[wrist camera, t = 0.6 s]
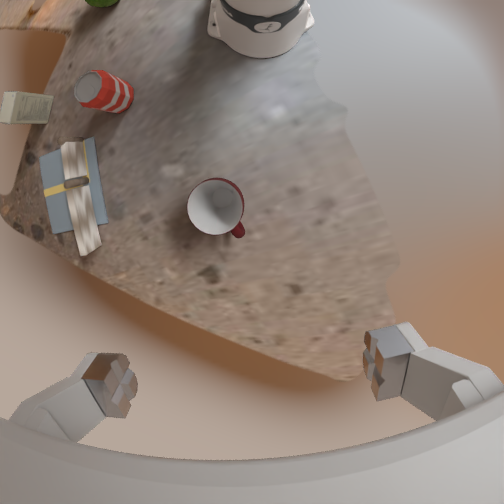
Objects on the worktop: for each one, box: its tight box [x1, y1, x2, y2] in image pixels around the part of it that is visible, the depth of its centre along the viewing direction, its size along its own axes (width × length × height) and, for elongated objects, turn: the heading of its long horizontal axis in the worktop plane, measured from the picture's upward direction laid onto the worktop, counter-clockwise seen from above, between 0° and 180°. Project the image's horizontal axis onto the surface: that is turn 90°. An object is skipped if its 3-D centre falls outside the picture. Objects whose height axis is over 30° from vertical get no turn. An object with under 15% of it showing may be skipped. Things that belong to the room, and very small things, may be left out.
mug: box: [187, 178, 245, 238], centre depth 46 cm, size 10×8×10 cm
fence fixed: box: [57, 137, 89, 189], centre depth 45 cm, size 9×1×7 cm, turn 7°
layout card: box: [39, 137, 109, 234], centre depth 50 cm, size 17×15×1 cm
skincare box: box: [0, 91, 54, 124], centre depth 39 cm, size 6×4×12 cm
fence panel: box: [66, 185, 102, 256], centre depth 48 cm, size 12×1×6 cm, turn 7°
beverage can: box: [74, 70, 134, 113], centre depth 39 cm, size 6×6×12 cm
